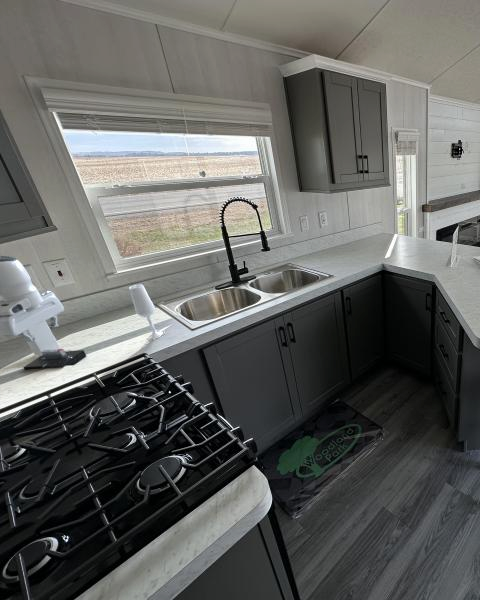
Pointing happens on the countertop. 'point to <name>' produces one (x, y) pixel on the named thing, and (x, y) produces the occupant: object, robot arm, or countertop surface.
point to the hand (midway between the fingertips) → (43, 333)
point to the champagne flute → (143, 306)
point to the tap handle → (54, 354)
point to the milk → (42, 339)
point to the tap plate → (57, 361)
